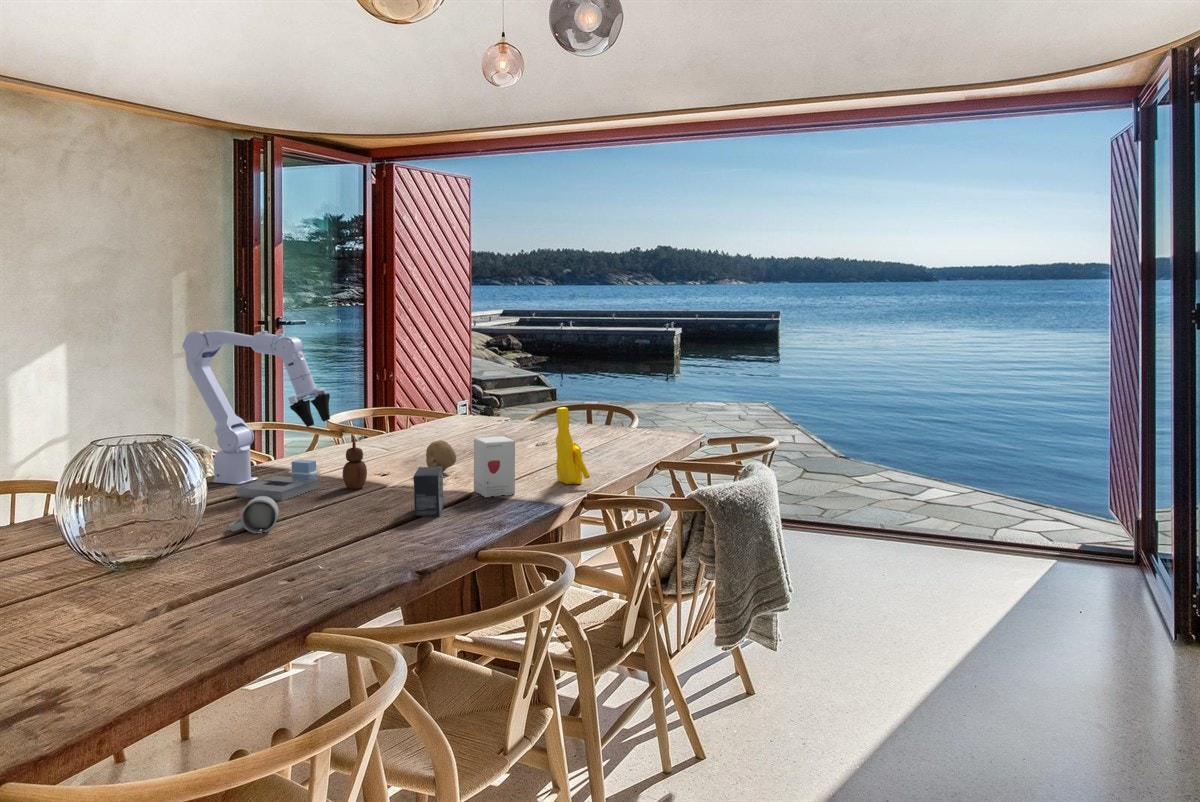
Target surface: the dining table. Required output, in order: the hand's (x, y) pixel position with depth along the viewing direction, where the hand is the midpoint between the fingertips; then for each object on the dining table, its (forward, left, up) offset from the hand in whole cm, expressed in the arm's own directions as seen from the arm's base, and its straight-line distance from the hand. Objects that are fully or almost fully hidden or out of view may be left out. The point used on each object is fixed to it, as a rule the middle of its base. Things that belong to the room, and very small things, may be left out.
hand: (318, 423), depth 245 cm
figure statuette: (+66, +25, -18) cm, 73 cm away
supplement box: (+51, +6, -18) cm, 54 cm away
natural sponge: (+25, +25, -18) cm, 40 cm away
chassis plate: (-4, -13, -18) cm, 22 cm away
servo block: (-6, +1, -18) cm, 19 cm away
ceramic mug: (+14, -46, -18) cm, 51 cm away
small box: (+44, -18, -18) cm, 50 cm away
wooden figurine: (+12, -1, -18) cm, 21 cm away
